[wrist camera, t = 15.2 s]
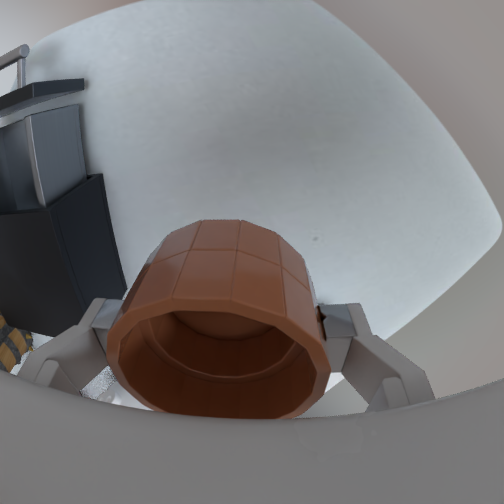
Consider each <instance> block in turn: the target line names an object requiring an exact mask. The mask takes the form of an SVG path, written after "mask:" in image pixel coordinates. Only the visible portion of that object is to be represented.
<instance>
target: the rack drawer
mask: <svg viewBox="0 0 504 504" xmlns="http://www.w3.org/2000/svg"><path fill="white" fill-rule="evenodd" d="M29 52H30V49H29V46H28V45H27V44H24V45H21V46H19V47H17V48H16V49H14V50H12V51H10V52H8V53H6V54H5V55H3V56H1V57H0V70H2V69H4V68H5V67H8V66H10V65H12V64H13V63H15V62H17V64H18V65H17V77H18V89H17V90H14V91H12V92H10V93H8V94H5V95H3V96H1V97H0V118H1V117H3V116H6V115H8V114H11V113H13V112H16V111H18V110H21V109H24V108H26V107H29V106H32V105H35V104H38V103H41V102H44V101H47V100H50V99H53V98H57V97H60V96H63V95H67V94H71V93H74V92H78V91H82V90H84V89H85V88H84V78H82V79H65V80H53V81H43V82H34V83H31V84H28V85H26V79H25V58H26V57H27V56H28V55H29ZM85 181H87V176H86V170H85V163H84V156H83V149H82V141H81V132H80V122H79V110H78V104H76V105H71V106H66V107H61V108H57V109H52V110H48V111H44V112H40V113H36V114H32V115H29V116H26V117H25V118H24V120H21V121H18V122H15V123H13V124H10V125H7V126H4V127H2V128H0V212H6V211H16V210H27V209H38V208H49V207H50V206H51V205H52V204H54V203H55V202H57V201H58V200H59V199H61V198H62V197H63V196H65V195H66V194H68V193H69V192H71V191H72V190H73V189H75V188H76V187H78V186H79V185H81V184H82V183H84V182H85Z"/></svg>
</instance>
